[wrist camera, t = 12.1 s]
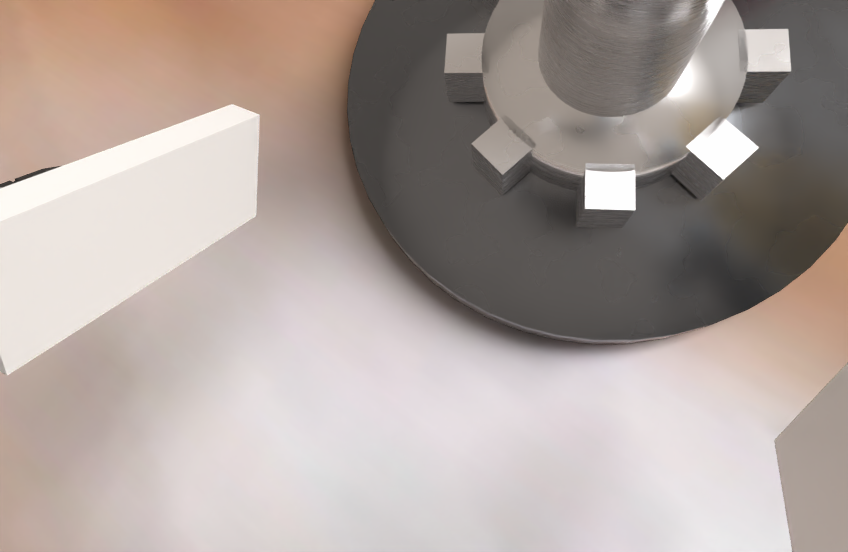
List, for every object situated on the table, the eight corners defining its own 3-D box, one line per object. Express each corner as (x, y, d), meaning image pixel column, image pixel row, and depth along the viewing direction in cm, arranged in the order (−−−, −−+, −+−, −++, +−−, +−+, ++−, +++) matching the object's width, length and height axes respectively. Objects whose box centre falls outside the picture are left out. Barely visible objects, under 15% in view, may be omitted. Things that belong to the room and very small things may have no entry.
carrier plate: (837, -112, 24) (861, -148, 22) (882, 361, 19) (916, 358, 18) (377, -91, 26) (370, -122, 25) (332, 327, 22) (320, 322, 21)
